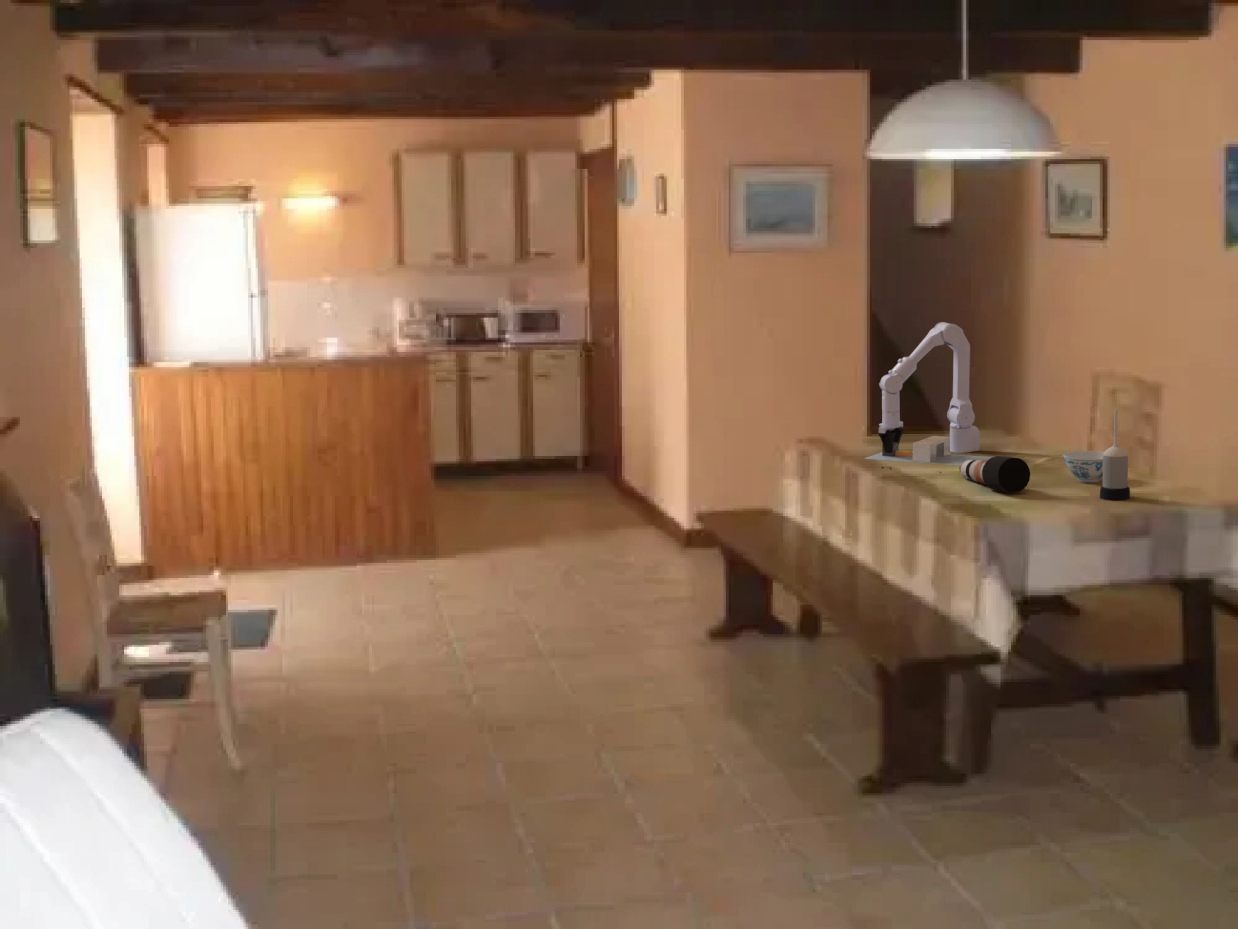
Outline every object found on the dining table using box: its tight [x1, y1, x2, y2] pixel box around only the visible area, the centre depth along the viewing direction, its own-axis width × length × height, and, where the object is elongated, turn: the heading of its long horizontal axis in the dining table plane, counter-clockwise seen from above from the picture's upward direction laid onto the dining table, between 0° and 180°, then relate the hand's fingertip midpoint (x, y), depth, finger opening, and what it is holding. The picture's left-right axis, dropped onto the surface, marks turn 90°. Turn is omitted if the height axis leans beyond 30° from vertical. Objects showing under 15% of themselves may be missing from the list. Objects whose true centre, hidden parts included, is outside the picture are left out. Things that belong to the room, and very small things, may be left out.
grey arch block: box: [912, 435, 951, 464], centre depth 507 cm, size 6×16×6 cm, turn 145°
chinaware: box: [1063, 450, 1105, 484], centre depth 464 cm, size 15×15×8 cm
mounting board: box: [863, 451, 993, 467], centre depth 508 cm, size 39×18×1 cm, turn 55°
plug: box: [881, 442, 913, 457], centre depth 513 cm, size 13×4×4 cm, turn 56°
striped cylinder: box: [958, 455, 1031, 494], centre depth 462 cm, size 10×34×10 cm, turn 11°
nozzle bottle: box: [1099, 409, 1131, 502], centre depth 436 cm, size 8×8×25 cm
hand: (891, 451), depth 516 cm, fingers closed on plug, 4 cm apart
